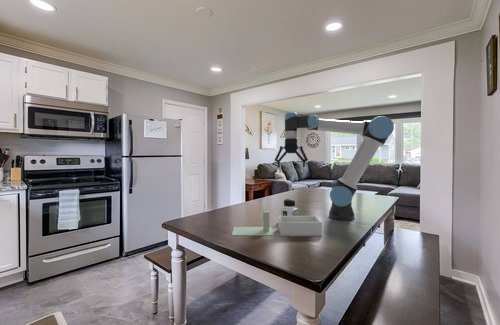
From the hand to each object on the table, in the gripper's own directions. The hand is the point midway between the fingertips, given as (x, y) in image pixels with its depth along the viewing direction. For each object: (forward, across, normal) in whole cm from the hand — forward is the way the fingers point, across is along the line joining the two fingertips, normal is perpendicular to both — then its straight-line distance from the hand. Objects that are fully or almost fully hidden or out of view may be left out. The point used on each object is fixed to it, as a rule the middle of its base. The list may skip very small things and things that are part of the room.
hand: (291, 172), depth 151 cm
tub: (+29, 0, +27) cm, 39 cm away
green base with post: (+29, +24, +25) cm, 45 cm away
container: (+29, +2, +6) cm, 30 cm away
